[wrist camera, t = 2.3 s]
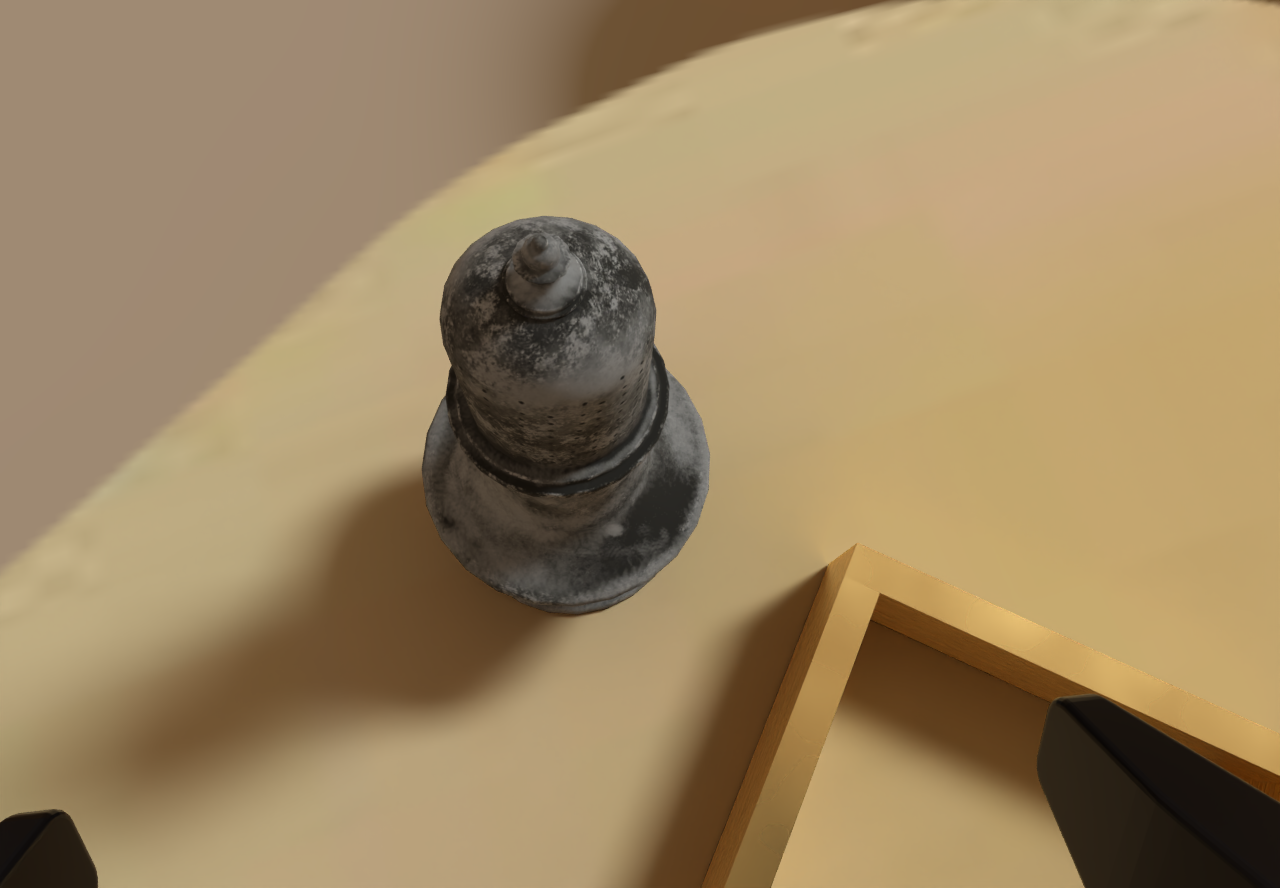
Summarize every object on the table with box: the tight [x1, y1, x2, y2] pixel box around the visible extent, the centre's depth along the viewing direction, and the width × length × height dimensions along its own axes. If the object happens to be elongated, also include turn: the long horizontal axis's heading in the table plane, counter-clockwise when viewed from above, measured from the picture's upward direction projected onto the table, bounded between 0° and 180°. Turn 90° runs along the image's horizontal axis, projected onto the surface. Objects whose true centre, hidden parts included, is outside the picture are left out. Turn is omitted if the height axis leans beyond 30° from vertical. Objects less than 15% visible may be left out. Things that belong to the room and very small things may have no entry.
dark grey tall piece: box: [422, 216, 710, 614], centre depth 15 cm, size 6×6×12 cm
